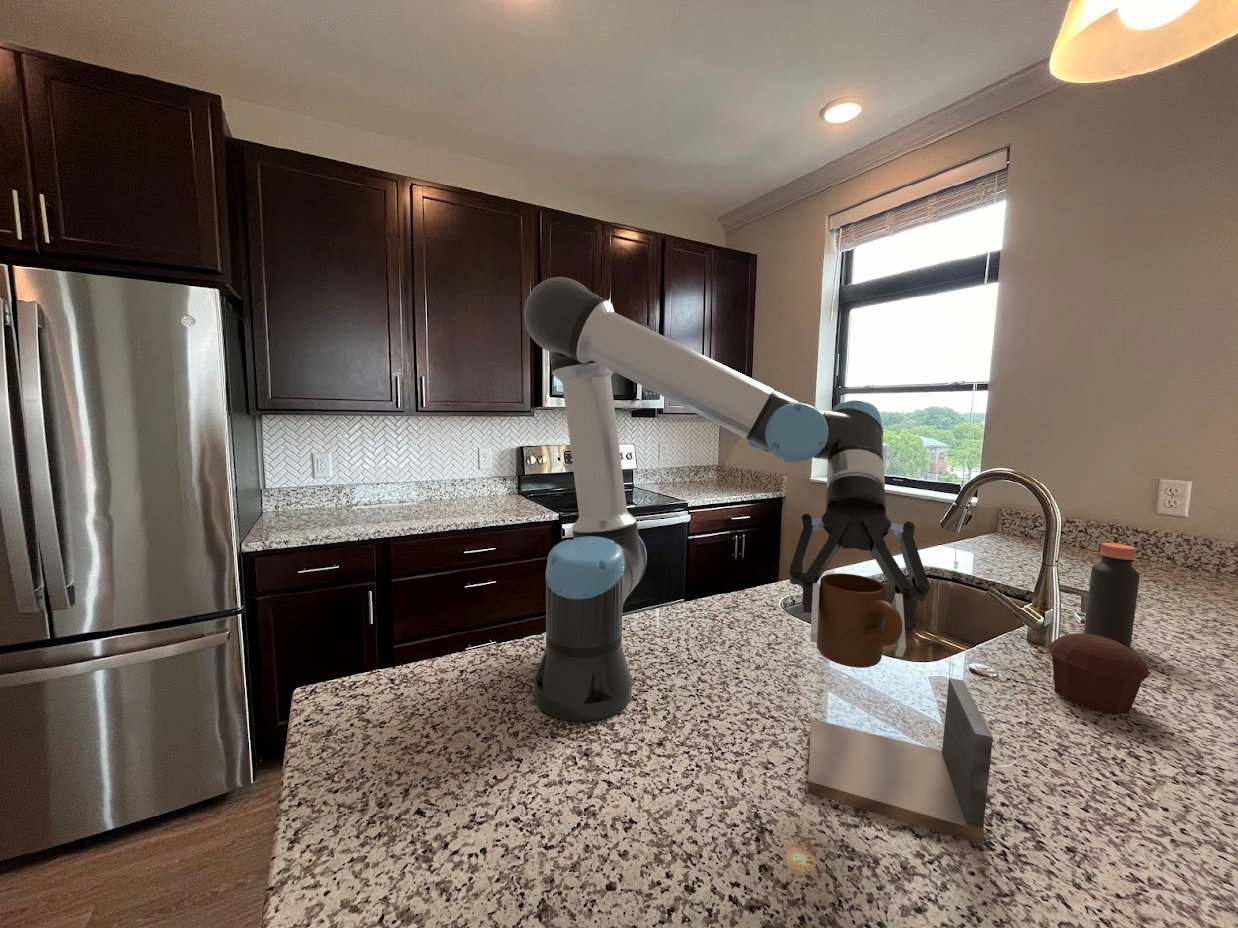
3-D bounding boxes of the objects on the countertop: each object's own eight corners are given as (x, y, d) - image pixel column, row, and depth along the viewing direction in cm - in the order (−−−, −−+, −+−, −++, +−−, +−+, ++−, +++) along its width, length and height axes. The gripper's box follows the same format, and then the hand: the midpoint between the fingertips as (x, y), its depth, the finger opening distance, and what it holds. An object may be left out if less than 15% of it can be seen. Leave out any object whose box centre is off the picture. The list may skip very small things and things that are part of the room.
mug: (925, 687, 55) (931, 605, 54) (864, 693, 54) (869, 609, 53) (855, 638, 67) (859, 571, 66) (804, 643, 66) (807, 574, 65)
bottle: (1124, 641, 101) (1136, 544, 99) (1135, 654, 95) (1149, 552, 93) (1079, 632, 104) (1090, 539, 102) (1088, 644, 99) (1099, 546, 97)
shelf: (807, 793, 58) (813, 699, 56) (810, 729, 69) (816, 650, 68) (983, 845, 51) (994, 740, 50) (953, 764, 63) (962, 678, 62)
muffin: (1040, 698, 79) (1047, 637, 78) (1044, 672, 87) (1050, 617, 86) (1149, 731, 71) (1158, 664, 70) (1141, 700, 79) (1149, 640, 78)
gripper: (936, 510, 69) (956, 674, 56) (778, 499, 77) (763, 641, 64) (948, 476, 64) (973, 649, 51) (776, 469, 72) (759, 616, 59)
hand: (855, 644), depth 57 cm, fingers closed on mug, 8 cm apart
